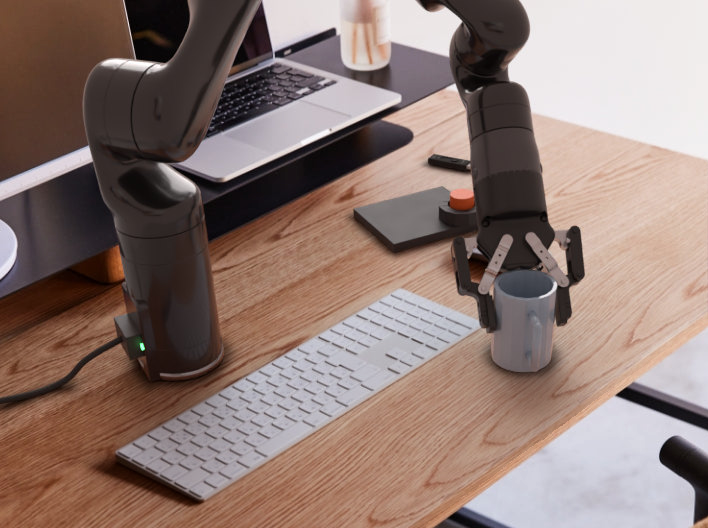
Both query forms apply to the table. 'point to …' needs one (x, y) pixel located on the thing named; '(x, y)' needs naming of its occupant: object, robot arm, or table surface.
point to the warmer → (416, 219)
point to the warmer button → (462, 199)
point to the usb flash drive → (449, 162)
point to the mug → (523, 319)
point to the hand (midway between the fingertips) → (526, 328)
